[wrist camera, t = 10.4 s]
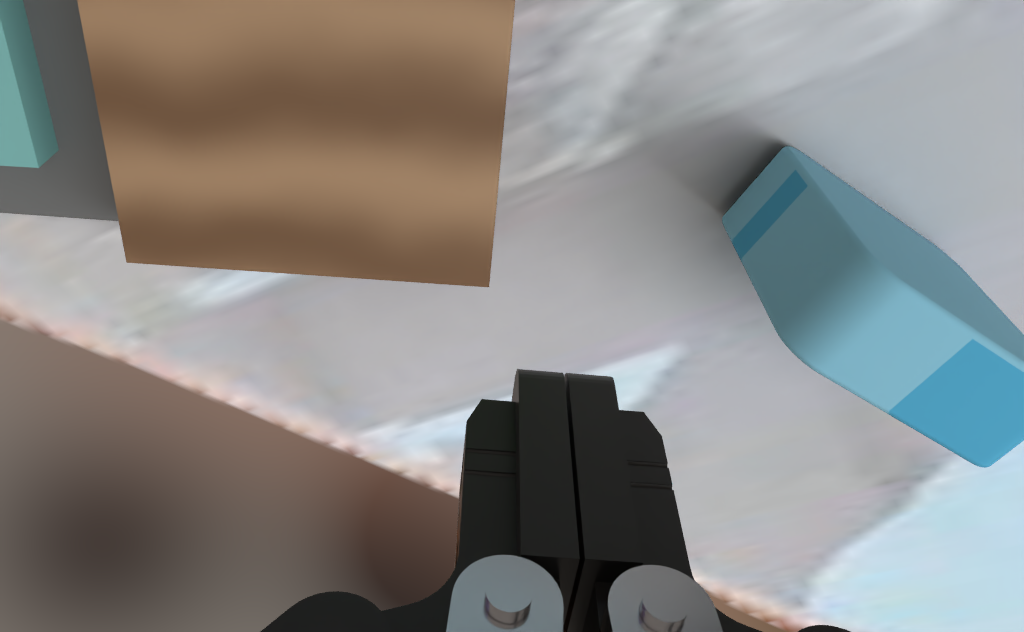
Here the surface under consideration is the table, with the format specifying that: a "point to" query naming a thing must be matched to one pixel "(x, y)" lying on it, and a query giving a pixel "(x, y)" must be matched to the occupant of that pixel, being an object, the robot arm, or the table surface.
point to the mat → (63, 126)
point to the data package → (880, 308)
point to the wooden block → (305, 133)
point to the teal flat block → (22, 94)
